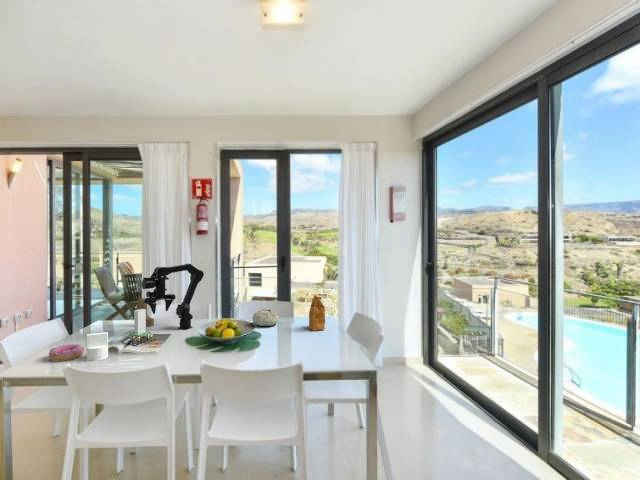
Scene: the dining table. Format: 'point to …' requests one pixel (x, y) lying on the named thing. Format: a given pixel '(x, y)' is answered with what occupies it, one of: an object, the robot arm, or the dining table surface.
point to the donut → (66, 352)
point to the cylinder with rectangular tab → (97, 346)
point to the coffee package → (317, 314)
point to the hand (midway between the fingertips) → (160, 312)
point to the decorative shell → (265, 317)
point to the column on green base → (139, 323)
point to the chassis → (142, 339)
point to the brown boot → (144, 306)
